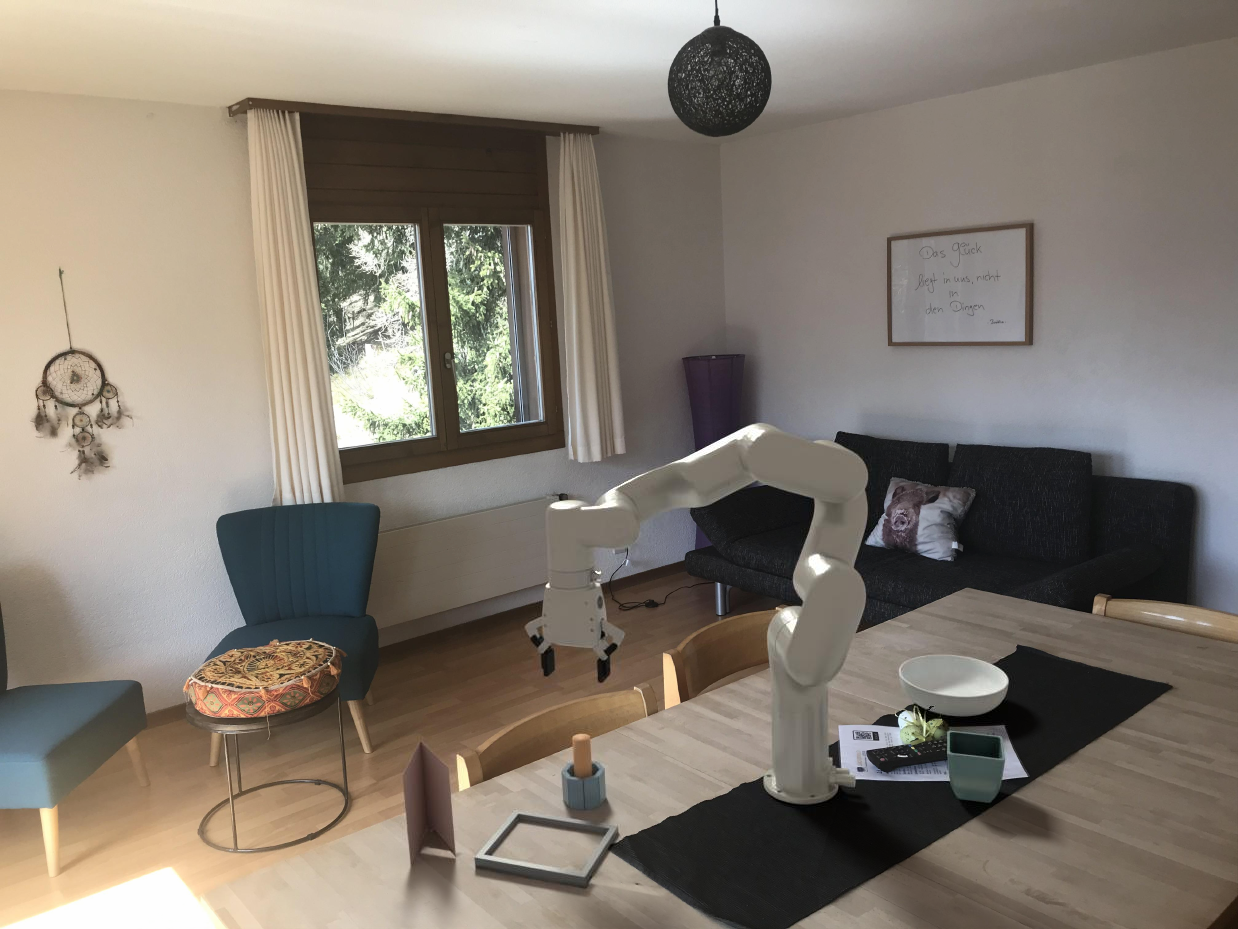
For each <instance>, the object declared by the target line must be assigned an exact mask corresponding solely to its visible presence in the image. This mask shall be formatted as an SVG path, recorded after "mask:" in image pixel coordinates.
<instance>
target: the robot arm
mask: <svg viewBox="0 0 1238 929" xmlns="http://www.w3.org/2000/svg"><path fill="white" fill-rule="evenodd" d="M868 472H869V471H868V468H867V466H866V463H865V461H864V460H863V459H862V458H861V457H860V456H859V455H858V453H855V452H854V451H852V450H850V449H848V448H847V447H844V446H842V444H839V443H837V442H835V441H831V440H827V439H817V440H814V441H813V440H809V439H806V438H802V437H799V436H795V435H793V434H790V433H787V432H785V431H783V430H781V429H780V428H778V427H776V426H774V425H772V424H769V423H766V422H765V423H764V422H757V423H754V424H749V425H747V426H745V427H743V428H741V429H739V430H737V431H735V432H733V433H731V434H729V435H727V436H725V437H723V438H721V439H720V440H717V441H715V442H713V443H711V444H710V445H708V446H705V447H704V448H702V449H700V450H698V451H696V452H693V453H692V454H689V455H687V456H686V457H683V458H682V459H679V460H676V461H673V462H671V463H668V464H666V465H664V466H661V467H657V468H655V469H652V470H650V471H647V472H644V473H642V474H640V475H637V476H636V477H633V478H632V479H629V480H628V481H625V482H624V483H622V484H620V485H618V486H615V487H614V488H612V489H610V490H608V491H607V492H605V493H604V494H602V495H601V496H600V497H599V498H598V499H597V501H596V502H595V504H594V505H593V506H590V504H589V503H588V502H586V501H582V500H577V499H576V500H573V499H571V500H569V499H568V500H560V501H556V502H552V503H551V504H550V505H548V506H547V508H546V510H545V524H546V525H545V529H546V548H547V570H548V572H547V573H548V582H547V584H546V585H545V588H544V592H543V594H544V595H543V602H542V612H541V613H542V614H541V616H540V617H538V618H536V619H534V620H532V621H529V622H528V623H527V624H525V625H524V629H525V630H526V633H527V635H528V636H529V637H530V642H531V643H532V644H533V646H535V647H536V649H537V653H539V654H540V665H541V669H542V670H543V671H542V672H543V677H549V676H550V675H551V674H553V672H555V670H556V663H555V662H556V658H555V649H554V647H552V645H558V646H565V647H566V646H569V647H577V648H587V649H588V648H589V649H590V648H592V649H593V651H594V652H595V654H597V656H598V657H599V658H598V659H597V660H596V667H597V669H596V670H597V682H598V683H600V684H603V683H604V682H605V681H606V680H607V679H608V678H609V676H610V675H611V655H612V654H613V653H614V652H615V651H617V649H618V648H619V647H620V646H621V643H622V642H623V639H624V638H625V636H626V633H625V632H624V630H622V629H621V628H619V627H617V626H615V625H614V624H612V623H610V621H609V622H608V620H607V610H606V604H605V599H604V598H605V597H604V593H603V590H602V586H601V583H599V582H598V581H603V577H604V576H603V575H604V574H603V572H601V571H598V570H597V568H596V565H595V548H597V549H604V550H605V549H606V550H625V549H627V548H630V547H631V546H633V545H635V543H636V542H637V541H638V540H639V538H640V536H641V534H642V529H643V528H642V525H643V524H642V523H643V522H645V521H647V520H649V519H651V518H653V517H655V516H657V515H659V514H662V513H664V512H667V511H670V510H676V509H682V508H700V507H706V506H709V505H712V504H713V503H715V502H717V501H719V500H721V499H723V498H725V497H727V496H729V495H731V494H732V493H734V492H736V491H737V492H738V491H739V490H741V489H743V488H745V487H746V486H748V485H750V484H753V483H755V482H756V481H758V482H759V483H762V484H765V485H767V486H770V487H773V488H777V489H778V490H783V491H786V492H789V493H792V494H797V495H800V496H804V497H808V498H811V499H813V500H814V501H813V502H814V511H813V517H812V520H811V523H810V524H811V525H810V527H809V531H808V534H807V537H806V538H805V541H804V544H803V548H802V549H801V553H800V555H799V557H798V560H797V563H796V566H795V568H794V571H793V575H792V583H793V588H794V590H795V592H796V594H797V595H798V597H800V599H801V600H802V605H801V606H800V605H792V606H788V607H783V608H782V609H781V610H779V611H778V612H776V613H775V615H774V616H773V617H772V619H771V621H770V623H769V625H768V628H767V629H768V630H767V633H766V634H767V636H766V641H767V642H766V643H767V653H768V654H767V655H768V661H769V662H768V664H769V672H770V695H771V696H770V699H771V700H770V706H771V707H770V709H771V710H770V713H771V714H770V715H771V762H772V763H771V764H772V767H771V768H769V770H767V771H766V772H765V774H764V776H763V787H764V789H765V791H766V792H767V793H768V794H769V795H770V796H772V797H773V798H775V799H777V800H779V801H782V802H785V803H790V804H794V805H795V804H796V805H814V804H818V803H823V802H827V801H828V800H831V799H832V798H833V797H834V796H835V795H837V792H838V791H839V786H844V787H849V788H855V786H856V775H854V774H851V773H850V772H851V771H850V770H851V769H850V768H843V767H842V768H841V767H840V768H839V767H837V766H836V765H833V757H829V756H830V755H829V748H830V746H829V703H830V702H829V683H830V682H832V681H833V680H834V679H835V678H836V677H837V675H838V674H839V673H840V671H841V669H842V668H843V665H844V664H845V662H846V660H847V656H848V654H849V651H850V648H851V646H852V644H853V642H854V638H855V636H856V634H857V633H856V632H857V630H858V628H859V625H860V623H861V620H862V616H863V614H864V611H865V606H866V599H867V593H866V592H867V591H866V586H865V583H864V580H863V578H862V576H861V574H860V573H859V572H858V570H856V569H855V562H856V559H857V556H858V553H859V550H860V547H861V543H862V540H863V537H864V534H865V530H866V526H867V520H868V514H869V513H868V510H869V508H868V507H869V506H868V500H867V492H866V487H867V485H868V481H869V473H868ZM539 627H541V628H542V629H541V631H542V632H541V633H542V635H541V633H539V632H538V628H539ZM608 635H609V636H611V637H612V641H611V643H610V644H609V643H608V642H607V641H606V640H605V639H606V638H607V637H608Z"/></svg>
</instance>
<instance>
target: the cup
mask: <svg viewBox="0 0 1238 929" xmlns="http://www.w3.org/2000/svg"><path fill="white" fill-rule="evenodd" d="M591 761H592V776H590V777H586V778H578V777H574V761H571V762H568V763H566V765H565V766H564V767H563V769H562V770H561V785H562V786H561V787H562V788H561V789H562V801H563V802H564V803H565V805H566V806H567V807H568V808H569V809H574V810H579V811H581V810H582V811H587V810H590V809H594V808H598V807H600V806H602V804H603V803H604V801H605V800H606V799H607V792H606V789H607V788H606V772H605V771H606V770H605V769H606V768H605V767H604V766H603V765H602V764H601V763H600V762H599V761H597V760H591Z"/></svg>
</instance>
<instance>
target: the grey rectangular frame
mask: <svg viewBox="0 0 1238 929" xmlns="http://www.w3.org/2000/svg"><path fill="white" fill-rule="evenodd" d="M518 821H525V822H531V823H537V824H544V825H550V826H555V827H556V826H557V827H563V828H569V829H574V830H580V831H586V832H592V833H597V834H598V833H600V834H605V835H604V836H603V838H602V839H601V841H600V843H599V844H598V846H597V847H596V849H595V850H594V851H593V853H592V855H591V856H590V858H589V859H588V861H587V862H586V863H585V866H583V869H582V870H581V871H579V870H578V871H576V870H571V869H566V868H559V867H554V866H550V865H545V864H544V865H543V864H537V863H532V862H527V861H521V860H515V859H509V858H506V857H505V858H503V857H499V856H494V855H490V854H491V853H492V852H493V851H494V850H495V849H496V847H497V846H498V845H499V843H501V842H502V840H503V839H504V838H505V836H507V834H508V833H509V832H510V831H511V829H512V828H513V827H514V826H515V825H516V823H517V822H518ZM618 833H619V826H618V825H615V824H614V825H613V824H608V823H600V822H597V821H588V820H581V819H576V818H569V817H564V816H558V815H557V816H556V815H551V814H547V813H545V814H544V813H539V812H533V811H527V810H519V809H515V810H513V812H512V813H511V814H510V816H508V818H507V819H506V820H505V821H504V823H503V824H501V826H500V827H499V828H498V829H497V831H495V833H494V834H493V835H492V837H490V839H488V841H487V842H486V843H485V844H484V845H483V847H482V848H481V849H480V850H479V851H478V852H477V854H476V855H475V856H474V867H475V869H479V870H485V871H489V872H494V873H501V874H505V875H511V876H515V877H516V876H517V877H521V878H525V879H526V878H527V879H532V880H538V881H544V882H548V883H552V884H559V885H565V886H571V887H576V888H580V889H587V887H588V886H589V883H591V880H592V879H593V877H594V876H593V875H592V874H593V872H594V871H595V869H596V868H597V866H598V865H599V863H600V861H601V860H602V858H603V857H604V855H605V853H606V852H607V851H608V849H609V847H610V845H611V844H612V843H613V841H614V840H615V838H616V836H617V835H618Z"/></svg>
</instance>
